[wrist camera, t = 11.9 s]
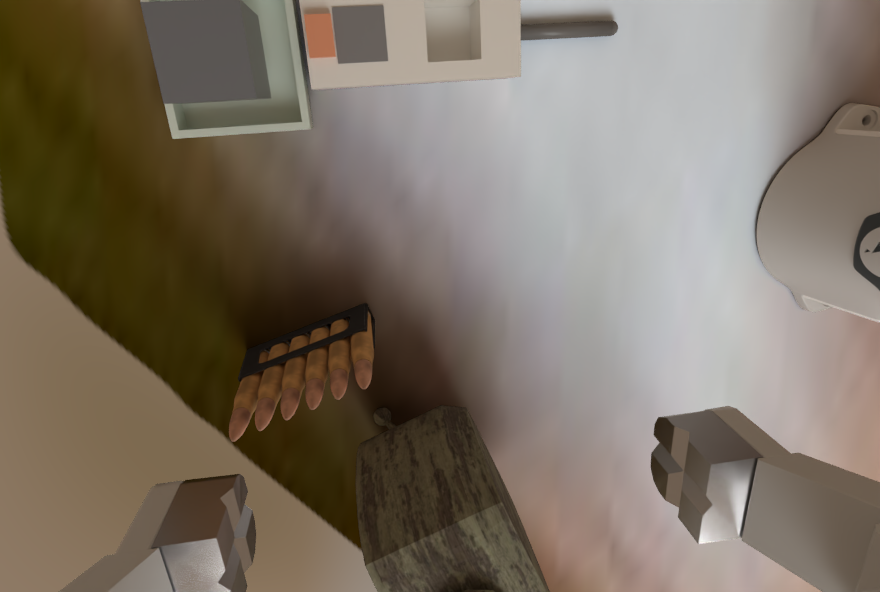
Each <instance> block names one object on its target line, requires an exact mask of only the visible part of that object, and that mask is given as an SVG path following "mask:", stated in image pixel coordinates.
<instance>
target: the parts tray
mask: <svg viewBox="0 0 880 592" xmlns="http://www.w3.org/2000/svg"><path fill="white" fill-rule="evenodd" d="M140 1H141V2H155V1H181V0H140ZM242 1H243V2H244V3H245V4H246V5H247V6H248V7H249V8H250V9H251V10H252V11H253V12H255V13H256V14H257V15H258V19H259V25H260V31H261V37H262V43H263V49H264V55H265V61H266V68H267V74H268V80H269V86H270V92H271V98H272V99H256V100H240V101H224V102H208V103H186V104H164V105H165V109H166V113H167V117H168V122H169V126H170V130H171V135H172V139H178V138H193V137H207V136H221V135H235V134H249V133H264V132H278V131H292V130H306V129H312V128H313V123H312V116H311V108H310V101H309V94H308V87H307V80H306V72H305V65H304V58H303V51H302V44H301V37H300V29H299V22H298V15H297V8H296V1H295V0H242Z"/></svg>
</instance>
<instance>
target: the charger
mask: <svg viewBox="0 0 880 592" xmlns="http://www.w3.org/2000/svg"><path fill="white" fill-rule="evenodd" d="M140 4H141V8H142V12H143V17H144V21H145V25H146V30H147V34H148V38H149V42H150V47H151V51H152V55H153V60H154V64H155V68H156V73H157V77H158V81H159V85H160V90H161V94H162V98H163V103H164V104H186V103H208V102H224V101H240V100H256V99H272V98H271V92H270V86H269V80H268V74H267V68H266V61H265V55H264V49H263V43H262V37H261V31H260V25H259V19H258V15H257V14H256V13H255V12H253V11H252V10H251V9H250V8H249V7H248V6H247V5H246V4H245V3H244V2H243V1H242V0H181V1H155V2H140Z"/></svg>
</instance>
